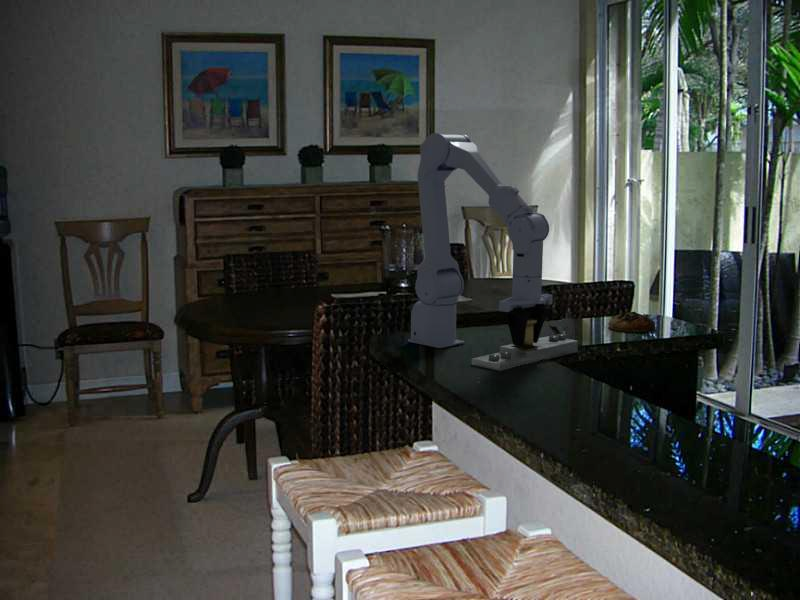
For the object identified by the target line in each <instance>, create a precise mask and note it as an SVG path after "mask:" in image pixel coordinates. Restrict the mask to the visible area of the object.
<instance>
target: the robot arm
mask: <svg viewBox="0 0 800 600" xmlns="http://www.w3.org/2000/svg"><path fill="white" fill-rule="evenodd" d="M419 152H420V161H419V165H418V169H417V183H418V197H419V207H420V216H421V217H420V218H421V219H420V220H421V227H422V228H421V230H422V239H423V250H424V251H423V253H424V258H423V260H422V261H421V263H420V264H419V265H418V266H417V269H416V270H417V271H416V272H417V274H416V275H417V276H416V280H415V284H414V285H415V286H414V287H415V288H414V289H415V293H416V295H417V297H418V298H419V299H420V300H418V301H416V302H415V303H414V304H413V306H412V309H411V314H410V339H407V341H408V342H409V343H413V344H418V345H423V346H426V347H427V346H428V347H432V348H437V349H442V348H448V347H451V346H457V344H458V345H462V344H461V343H463V344H465V341H464V340H459V339H457V302H459V297H460V296H461V294H463V291H464V288H465V286H464V285H465V282H464V281H465V280H464V278H463V276H462V273H461V272H460V268H459V263H458V261H457V260H456V259H455V258H454V257H453V255H451V254H452V253H451V244H450V231H449V230H450V229H449V220H448V219H449V218H448V209H447V208H448V207H447V198H446V185H445V181H446V180H447V179H448V178H449V177H450V175H451V174H452V173H453V172H454V171H456V170H457V169H461V170H464V171H465V172H466V173H467V174H468V176H470V178H472V179H473V181H475V183H476V184H477V185H478V186H479V187H480V188H481V189H482V190H483V191H484V192H485V193H486V194H487V195H488V205H489V206H490V208H491V209H492V210H493V211H494V212H495V214H496V215H497V216H498V217H499V219H500V220H501V221H502V222H503V223H504V225H505V226H506V227H507V235H508V238H509V241H511V244H512V247H511V248H512V251H513V255H512V287H511V288H512V289H511V290H512V291H511V297H509V298H506V299H503V300H502V299H501V300H499V301H498V311H499V312H501V314H502V315H503V317H504V319H505V321H506V323H507V326H508V329H509V332H510V337H511V341H512V344H513V345H517V346H523V344H524V340H525V330H526V325H527V321H528V318H529V317H534V318H537V323H535V324H534V337H533V343H537V342H538V339H539V338H540V335H541V331H542V328H543V325H544V323H545V321H546V319H547V317H548V315H550V312H551V307H549V306H545V305H553V296H554V295H553V294H551V293H550V294H548V293H542V285H543V284H542V283H543V255H544V241H545V240H546V239H547V237H548V236H549V232H550V225H549V221H548V220H547V219H546V217H545V215H544V214H543V213H540V212H535V211H534V208H533V207H532V206H531V205H528V204H527V203H526V202H525V201H526V200H524V199H523V198H522V197H521V196H520V194H519V192H520V190H519V189H518V188H517V186H516V187H515V186H514V187H513V186H512V185H510V184H502V182H501V181H500V180H499V178H498V177H497V176H496V174H495V173H494V171H493V170H492V169H491V168H490V166H489V165H488V164H487V162H486V160H484V159H483V156H481V154H480V153H479V150H478V145H476V144H475V143H474V142H472V140H471V139H470V137H469V136H468V135H466V134H463V133H457V134H456V133H454V134H451V133H450V134H449V133H438V132H433V133H430V134H429V135H428V136H427V137H426V138H425V140H423V142H422V143H421V144H420V145H419Z"/></svg>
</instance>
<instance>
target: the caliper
mask: <svg viewBox="0 0 800 600" xmlns="http://www.w3.org/2000/svg"><path fill="white" fill-rule="evenodd" d="M572 316H573V315H572V313H570V312H569V313H568V312H567V313H565V318H564V317H563V318H561V319H560V320H549V321H550V322H549V323H548V325H549V326H550V327H552V328H558V327H559V328H560V329H561V331H564V334H565V335H566V339H571V340H573V331H574V330H573V329H574V328H573V326H574V325H573V317H572Z"/></svg>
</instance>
